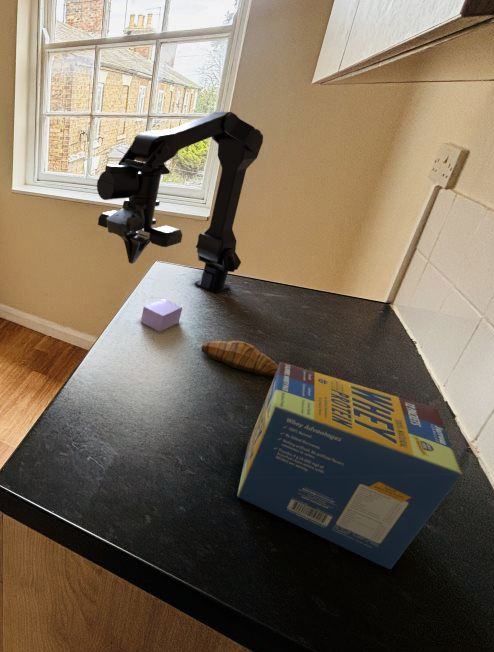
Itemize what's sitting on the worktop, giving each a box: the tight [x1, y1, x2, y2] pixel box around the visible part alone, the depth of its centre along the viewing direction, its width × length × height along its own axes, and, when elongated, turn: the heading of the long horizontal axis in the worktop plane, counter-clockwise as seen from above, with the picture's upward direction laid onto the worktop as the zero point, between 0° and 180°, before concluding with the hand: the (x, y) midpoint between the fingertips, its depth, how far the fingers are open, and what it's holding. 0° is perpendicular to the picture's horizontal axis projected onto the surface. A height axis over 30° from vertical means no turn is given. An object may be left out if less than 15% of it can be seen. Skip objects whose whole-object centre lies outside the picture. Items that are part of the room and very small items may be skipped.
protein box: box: [236, 361, 464, 570], centre depth 48 cm, size 10×15×16 cm
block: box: [140, 298, 183, 333], centre depth 90 cm, size 7×5×4 cm
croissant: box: [200, 340, 279, 378], centre depth 76 cm, size 14×7×5 cm, turn 52°
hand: (131, 263), depth 93 cm, fingers closed
